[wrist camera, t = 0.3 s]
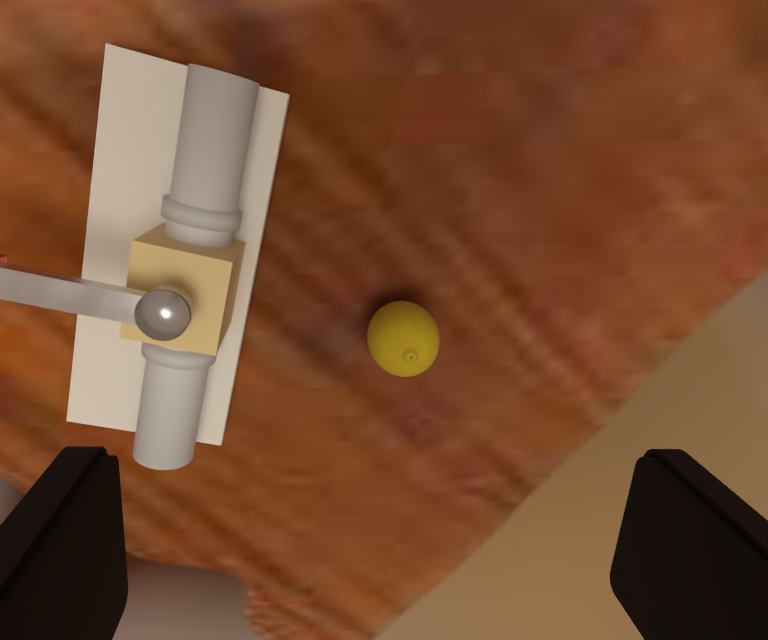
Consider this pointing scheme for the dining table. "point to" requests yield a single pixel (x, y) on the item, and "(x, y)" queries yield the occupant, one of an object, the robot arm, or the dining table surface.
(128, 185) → the valve base
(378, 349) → the lemon
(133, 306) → the valve lever
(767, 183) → the dining table surface
